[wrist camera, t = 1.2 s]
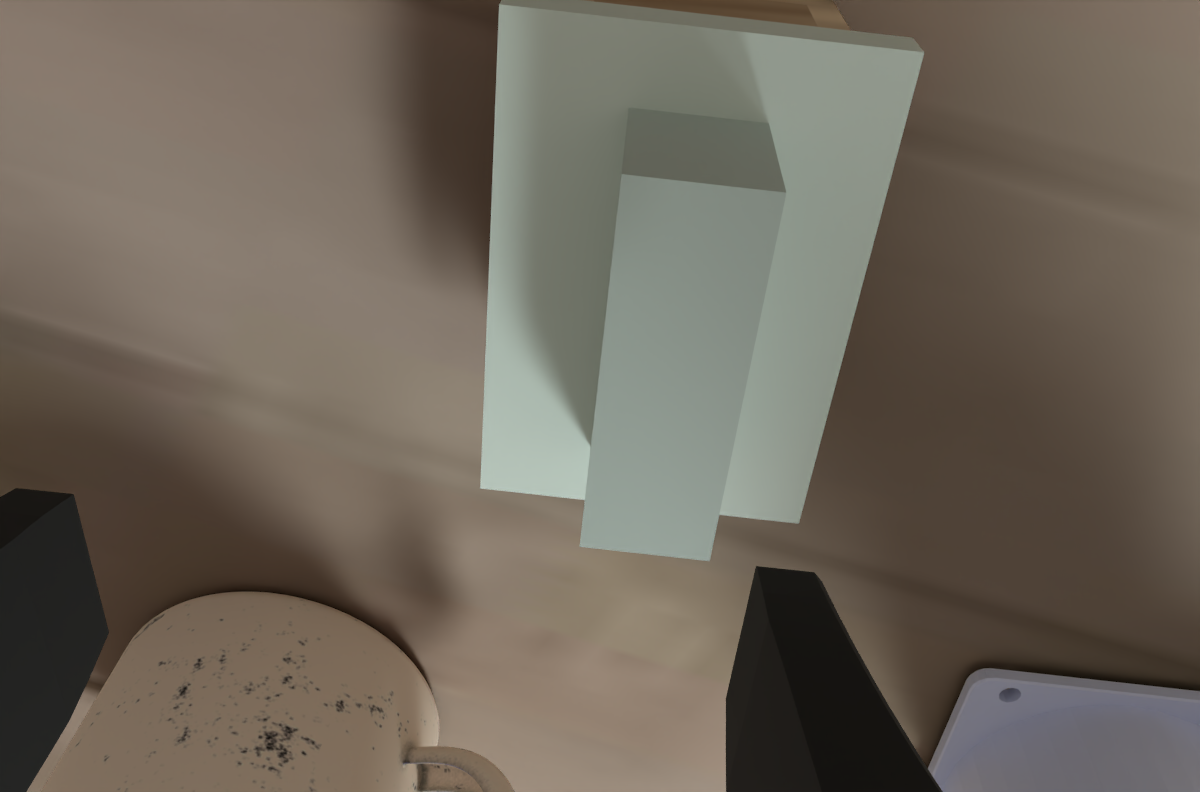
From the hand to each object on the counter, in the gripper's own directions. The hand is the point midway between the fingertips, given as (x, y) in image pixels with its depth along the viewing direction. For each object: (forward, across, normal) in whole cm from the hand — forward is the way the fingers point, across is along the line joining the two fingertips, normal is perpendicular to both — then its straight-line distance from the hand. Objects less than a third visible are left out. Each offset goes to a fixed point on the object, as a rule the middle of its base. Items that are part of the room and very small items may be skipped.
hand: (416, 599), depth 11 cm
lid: (+7, -3, 0) cm, 8 cm away
